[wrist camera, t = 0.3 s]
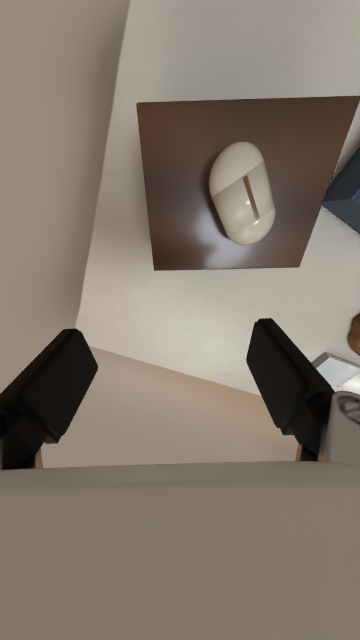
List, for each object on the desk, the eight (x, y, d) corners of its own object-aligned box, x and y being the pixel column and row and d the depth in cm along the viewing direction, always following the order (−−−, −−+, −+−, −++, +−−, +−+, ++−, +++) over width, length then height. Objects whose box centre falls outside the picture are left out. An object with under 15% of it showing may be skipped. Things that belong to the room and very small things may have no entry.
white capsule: (197, 173, 14) (203, 160, 10) (243, 138, 13) (266, 110, 9) (229, 250, 17) (241, 258, 14) (267, 227, 16) (291, 230, 13)
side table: (155, 154, 22) (136, 101, 12) (276, 150, 22) (362, 94, 12) (162, 250, 28) (153, 270, 18) (256, 248, 28) (299, 267, 18)
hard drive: (304, 377, 44) (338, 388, 47) (329, 356, 40) (365, 370, 43) (300, 372, 45) (333, 383, 48) (324, 352, 41) (359, 365, 44)
